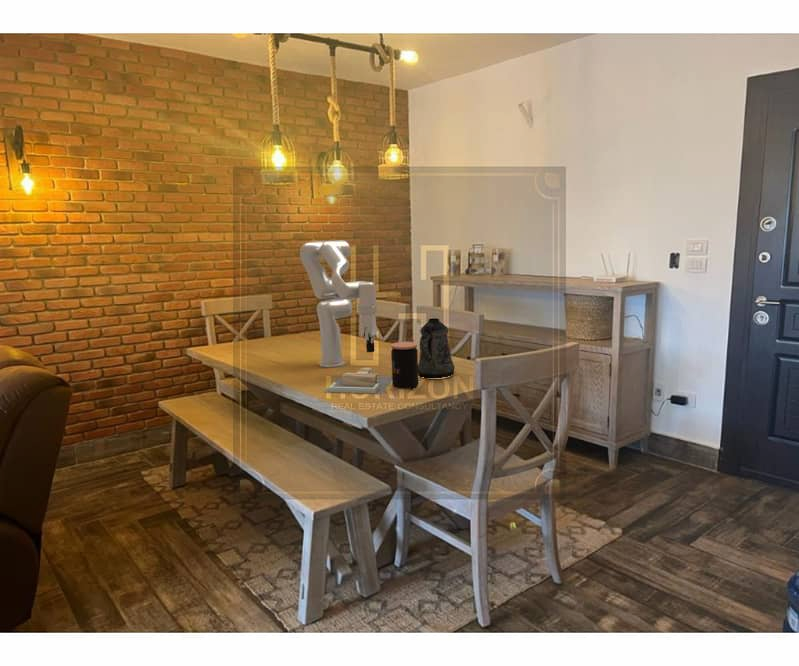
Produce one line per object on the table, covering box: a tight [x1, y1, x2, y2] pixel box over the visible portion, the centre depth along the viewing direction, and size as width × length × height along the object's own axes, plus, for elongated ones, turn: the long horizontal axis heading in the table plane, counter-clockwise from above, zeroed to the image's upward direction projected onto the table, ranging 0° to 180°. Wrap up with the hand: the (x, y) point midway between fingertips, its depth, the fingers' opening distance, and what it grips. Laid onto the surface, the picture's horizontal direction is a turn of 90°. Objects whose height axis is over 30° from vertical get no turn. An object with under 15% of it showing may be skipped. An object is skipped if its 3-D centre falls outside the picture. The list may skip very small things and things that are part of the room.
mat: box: [322, 375, 392, 395], centre depth 241 cm, size 26×24×3 cm
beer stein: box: [418, 317, 455, 379], centre depth 253 cm, size 16×19×25 cm
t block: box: [341, 367, 379, 386], centre depth 246 cm, size 14×14×4 cm
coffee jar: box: [390, 341, 419, 391], centre depth 237 cm, size 11×11×18 cm
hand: (370, 351), depth 256 cm, fingers closed
